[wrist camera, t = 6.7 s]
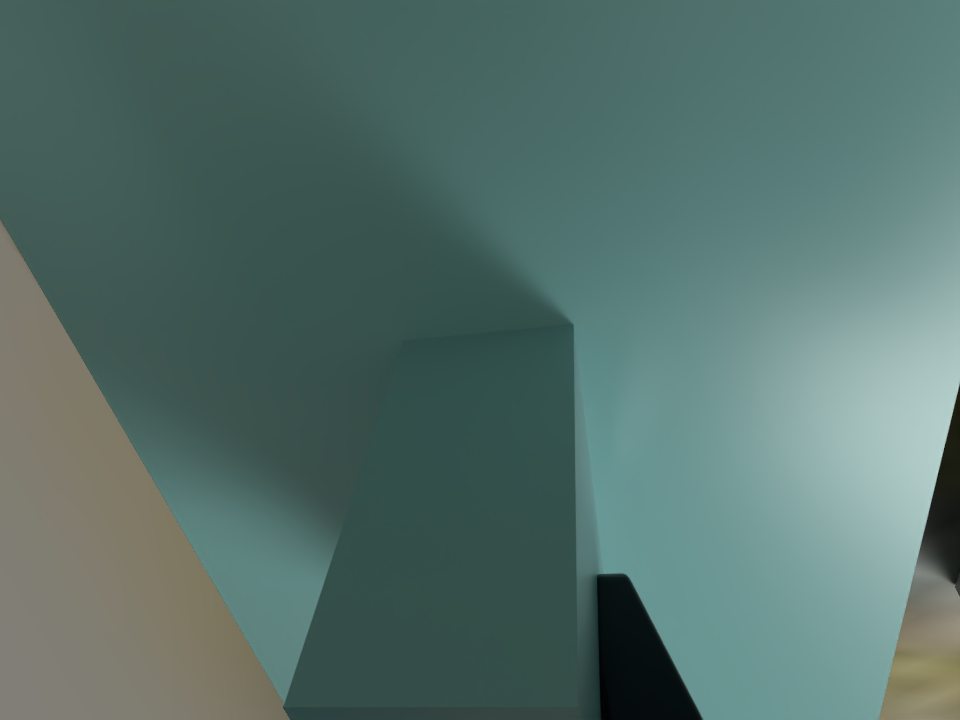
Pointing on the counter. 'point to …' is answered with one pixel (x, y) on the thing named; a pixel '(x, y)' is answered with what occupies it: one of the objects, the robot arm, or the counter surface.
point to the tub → (958, 584)
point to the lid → (514, 325)
